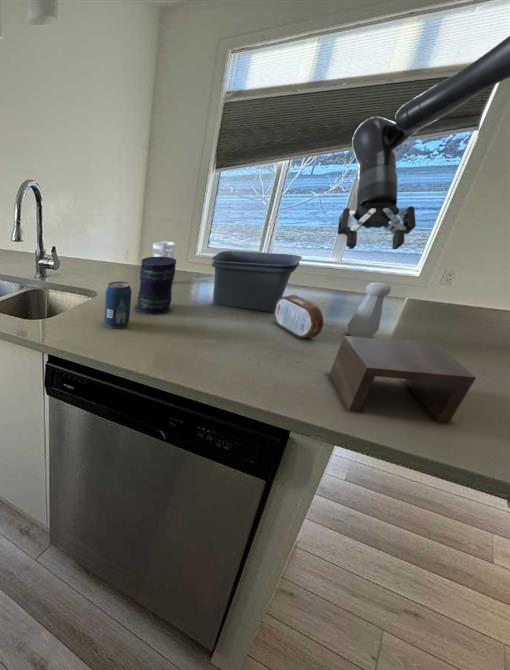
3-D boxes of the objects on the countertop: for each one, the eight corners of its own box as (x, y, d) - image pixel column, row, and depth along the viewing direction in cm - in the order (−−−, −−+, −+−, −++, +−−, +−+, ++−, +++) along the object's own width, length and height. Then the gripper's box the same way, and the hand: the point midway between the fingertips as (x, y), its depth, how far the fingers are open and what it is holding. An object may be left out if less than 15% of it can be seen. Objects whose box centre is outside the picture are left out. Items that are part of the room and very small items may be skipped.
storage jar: (166, 316, 120) (172, 265, 112) (132, 312, 125) (137, 263, 117) (173, 305, 127) (179, 257, 119) (141, 302, 132) (145, 255, 124)
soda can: (114, 318, 122) (117, 279, 116) (133, 324, 117) (137, 283, 111) (99, 325, 118) (100, 285, 112) (118, 331, 113) (121, 289, 107)
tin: (318, 342, 98) (329, 309, 93) (305, 343, 98) (316, 311, 94) (280, 320, 111) (288, 290, 106) (268, 321, 111) (276, 291, 107)
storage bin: (200, 305, 125) (208, 259, 117) (215, 291, 134) (224, 247, 127) (280, 317, 112) (295, 266, 105) (291, 301, 122) (305, 253, 115)
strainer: (149, 285, 146) (153, 242, 138) (149, 279, 152) (153, 238, 144) (170, 285, 144) (175, 242, 136) (169, 279, 149) (174, 237, 142)
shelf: (414, 382, 80) (435, 341, 75) (449, 422, 69) (476, 377, 65) (329, 374, 85) (343, 335, 81) (348, 410, 74) (367, 367, 70)
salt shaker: (369, 342, 96) (392, 289, 89) (340, 336, 100) (360, 284, 93) (378, 335, 98) (400, 283, 92) (349, 329, 102) (369, 278, 96)
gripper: (348, 181, 100) (345, 238, 97) (422, 177, 95) (422, 238, 92) (335, 201, 107) (332, 255, 104) (404, 199, 102) (403, 256, 99)
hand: (374, 247), depth 98 cm, fingers open, 8 cm apart
